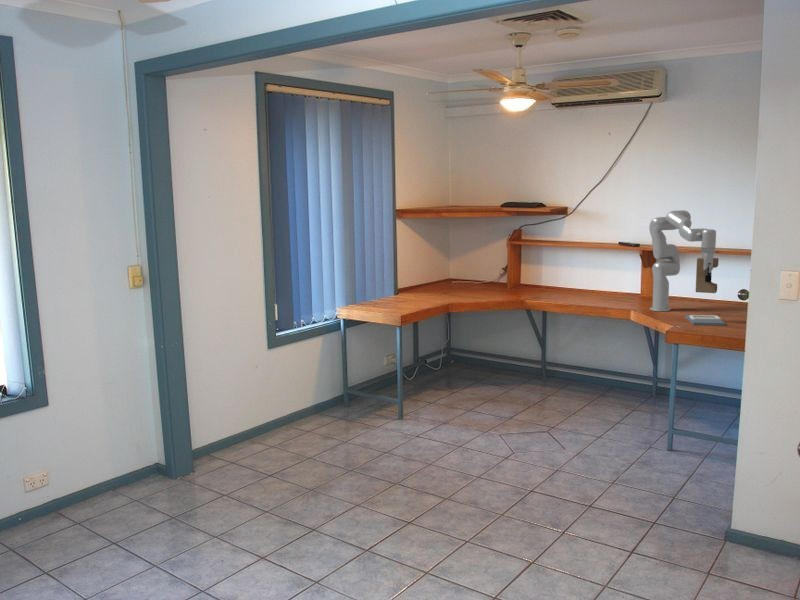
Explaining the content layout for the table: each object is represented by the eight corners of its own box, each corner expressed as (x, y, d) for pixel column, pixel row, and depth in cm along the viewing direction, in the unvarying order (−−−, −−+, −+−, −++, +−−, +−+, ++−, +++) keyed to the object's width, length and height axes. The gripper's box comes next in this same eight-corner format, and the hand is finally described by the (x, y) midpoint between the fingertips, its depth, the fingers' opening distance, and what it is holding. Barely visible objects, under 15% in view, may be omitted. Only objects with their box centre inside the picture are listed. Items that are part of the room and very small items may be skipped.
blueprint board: (684, 317, 414) (684, 313, 414) (714, 317, 411) (714, 313, 411) (693, 324, 391) (693, 320, 391) (725, 325, 388) (725, 321, 387)
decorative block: (717, 291, 399) (718, 258, 395) (715, 293, 394) (717, 259, 390) (696, 290, 405) (698, 257, 401) (695, 292, 400) (696, 258, 396)
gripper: (697, 249, 405) (696, 279, 407) (704, 252, 388) (703, 283, 391) (711, 249, 403) (709, 279, 406) (718, 252, 386) (717, 283, 389)
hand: (706, 280), depth 398 cm, fingers closed on decorative block, 6 cm apart
